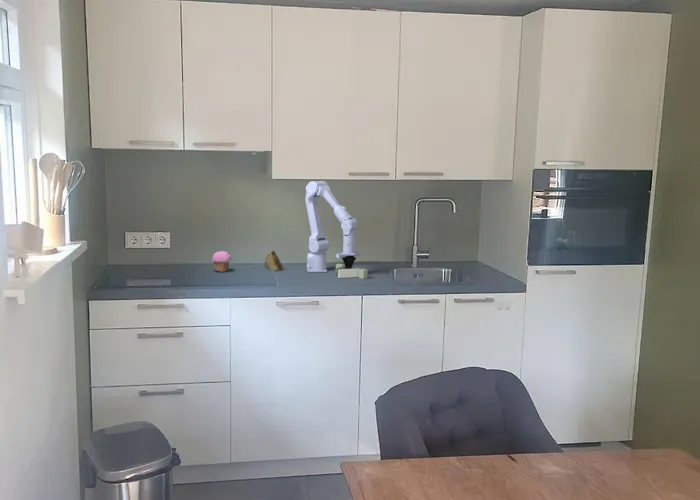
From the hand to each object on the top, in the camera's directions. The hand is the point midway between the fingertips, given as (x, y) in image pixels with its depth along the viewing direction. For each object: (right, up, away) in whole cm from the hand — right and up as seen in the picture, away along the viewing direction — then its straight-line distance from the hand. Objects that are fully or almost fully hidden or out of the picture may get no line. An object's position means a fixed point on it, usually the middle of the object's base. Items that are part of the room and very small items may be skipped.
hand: (348, 271), depth 315 cm
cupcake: (-61, 0, +1) cm, 61 cm away
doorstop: (-2, -2, -3) cm, 4 cm away
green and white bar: (+1, -2, 0) cm, 2 cm away
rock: (-37, +1, +11) cm, 39 cm away
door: (0, -2, -6) cm, 7 cm away
